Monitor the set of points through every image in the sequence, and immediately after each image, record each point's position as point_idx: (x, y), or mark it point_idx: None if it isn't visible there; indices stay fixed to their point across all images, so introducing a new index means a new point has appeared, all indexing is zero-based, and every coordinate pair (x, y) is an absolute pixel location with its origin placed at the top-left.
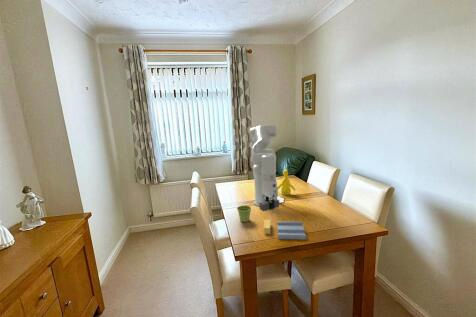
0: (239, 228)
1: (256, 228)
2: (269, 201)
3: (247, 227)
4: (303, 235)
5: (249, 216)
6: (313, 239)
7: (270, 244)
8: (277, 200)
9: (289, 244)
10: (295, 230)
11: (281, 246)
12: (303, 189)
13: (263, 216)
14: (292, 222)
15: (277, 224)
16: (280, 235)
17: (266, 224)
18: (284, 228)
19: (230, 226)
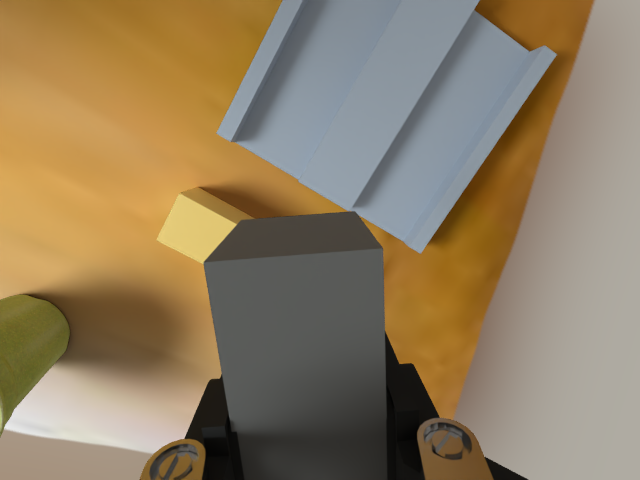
0: (152, 404)
1: (203, 306)
2: (313, 473)
3: (160, 354)
4: (539, 75)
5: (25, 318)
6: (566, 9)
7: (437, 320)
8: (364, 288)
9: (507, 216)
10: (429, 76)
11: (494, 274)
12: None
13: (4, 152)
14: (301, 2)
15: (235, 140)
16: (429, 237)
17: None
18: (365, 151)
19: (98, 444)
